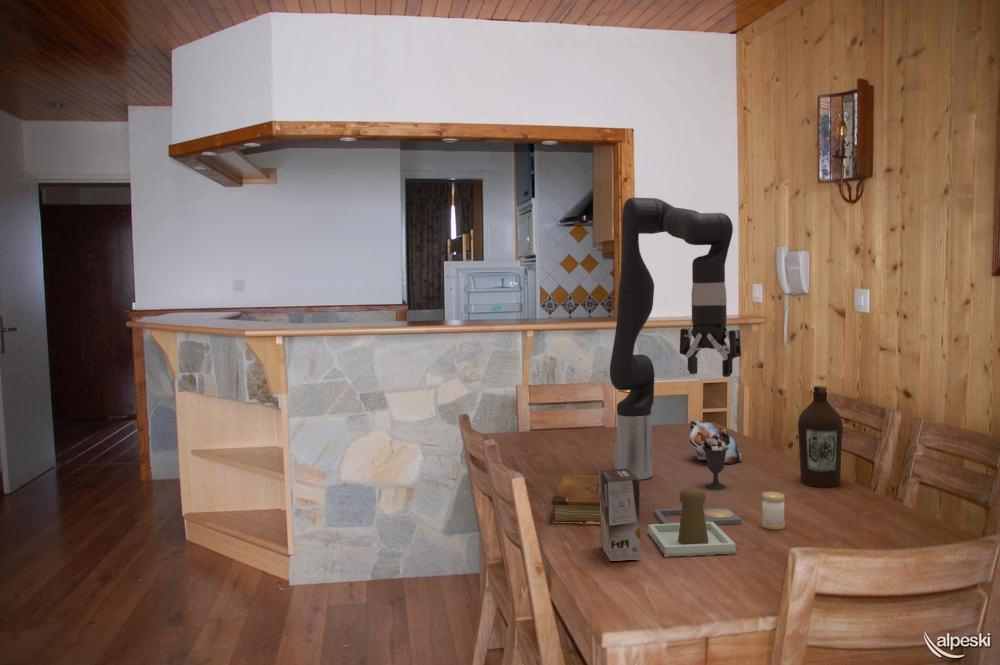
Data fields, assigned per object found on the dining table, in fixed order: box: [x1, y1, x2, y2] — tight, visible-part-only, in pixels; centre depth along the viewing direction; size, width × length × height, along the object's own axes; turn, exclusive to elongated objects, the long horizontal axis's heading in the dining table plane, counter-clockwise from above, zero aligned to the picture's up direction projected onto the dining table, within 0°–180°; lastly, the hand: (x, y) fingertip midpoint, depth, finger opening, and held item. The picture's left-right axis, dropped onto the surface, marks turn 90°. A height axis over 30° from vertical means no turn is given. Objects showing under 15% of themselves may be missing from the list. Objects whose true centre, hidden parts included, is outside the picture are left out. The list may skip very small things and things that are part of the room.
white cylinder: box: [761, 491, 786, 531], centre depth 167 cm, size 5×5×7 cm
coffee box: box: [598, 468, 641, 560], centre depth 153 cm, size 9×6×16 cm
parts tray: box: [647, 522, 737, 557], centre depth 158 cm, size 14×14×2 cm
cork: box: [678, 486, 708, 545], centre depth 157 cm, size 6×6×11 cm
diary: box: [550, 474, 641, 523], centre depth 183 cm, size 23×19×6 cm
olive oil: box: [797, 385, 844, 488], centre depth 198 cm, size 11×11×25 cm
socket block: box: [653, 506, 742, 526], centre depth 173 cm, size 17×10×1 cm, turn 92°
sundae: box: [702, 427, 729, 490], centre depth 199 cm, size 7×7×15 cm
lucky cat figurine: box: [689, 419, 743, 465], centre depth 226 cm, size 15×12×14 cm
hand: (709, 375), depth 174 cm, fingers open, 8 cm apart
